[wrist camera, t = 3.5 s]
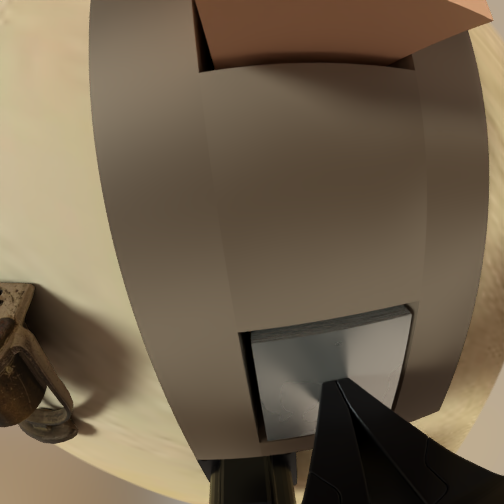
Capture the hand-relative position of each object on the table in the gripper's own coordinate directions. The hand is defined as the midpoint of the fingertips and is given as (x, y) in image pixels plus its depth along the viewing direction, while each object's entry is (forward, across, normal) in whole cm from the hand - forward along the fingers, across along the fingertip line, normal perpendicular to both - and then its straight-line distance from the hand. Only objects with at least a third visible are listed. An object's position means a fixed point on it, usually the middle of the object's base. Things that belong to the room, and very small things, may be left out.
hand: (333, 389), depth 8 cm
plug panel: (+5, 0, -6) cm, 8 cm away
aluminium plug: (+5, 0, 0) cm, 5 cm away
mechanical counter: (+6, +17, +2) cm, 18 cm away
